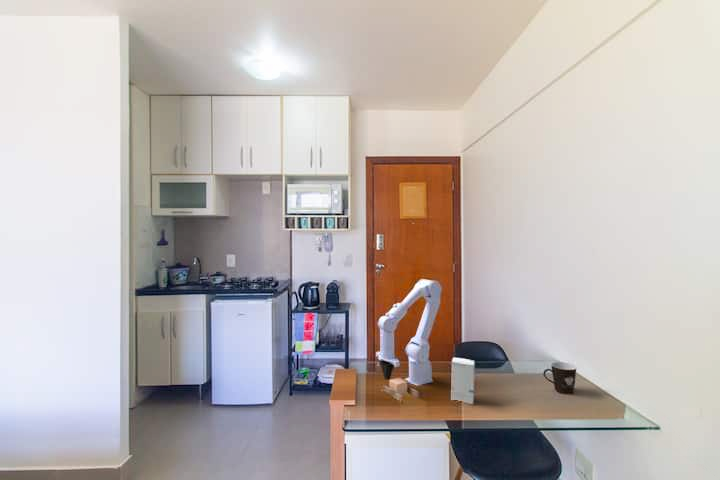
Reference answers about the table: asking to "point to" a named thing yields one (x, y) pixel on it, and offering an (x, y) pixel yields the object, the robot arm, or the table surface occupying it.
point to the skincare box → (462, 380)
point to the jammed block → (398, 385)
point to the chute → (398, 396)
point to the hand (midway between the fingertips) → (387, 378)
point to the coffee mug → (563, 377)
